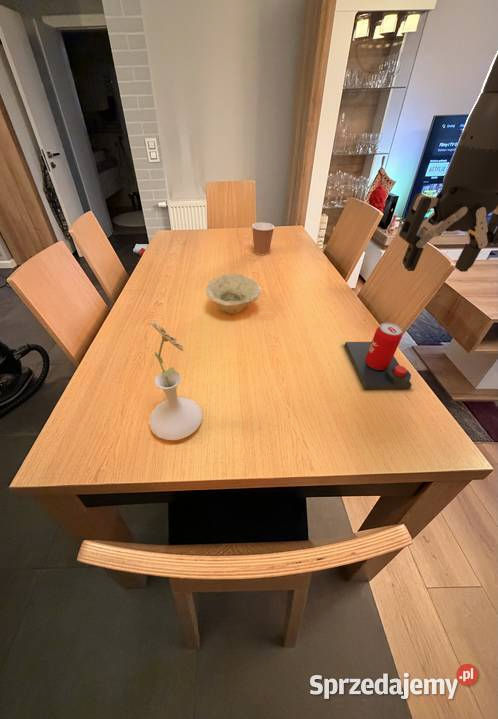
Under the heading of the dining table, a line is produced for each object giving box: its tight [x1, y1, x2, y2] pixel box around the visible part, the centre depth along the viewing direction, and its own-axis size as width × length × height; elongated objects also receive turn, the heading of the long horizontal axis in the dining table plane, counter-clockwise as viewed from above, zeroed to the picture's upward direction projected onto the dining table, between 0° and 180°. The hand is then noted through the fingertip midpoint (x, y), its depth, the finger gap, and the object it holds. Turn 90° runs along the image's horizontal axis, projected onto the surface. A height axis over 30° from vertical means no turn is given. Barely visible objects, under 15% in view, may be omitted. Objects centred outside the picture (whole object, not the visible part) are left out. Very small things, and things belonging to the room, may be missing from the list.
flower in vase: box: [148, 319, 203, 441], centre depth 60 cm, size 13×11×25 cm
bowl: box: [205, 273, 261, 314], centre depth 100 cm, size 14×18×15 cm
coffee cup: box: [251, 222, 275, 256], centre depth 140 cm, size 10×10×12 cm
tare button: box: [393, 365, 408, 378], centre depth 77 cm, size 3×3×2 cm
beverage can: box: [365, 322, 403, 370], centre depth 78 cm, size 6×6×12 cm
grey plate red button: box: [343, 341, 413, 391], centre depth 83 cm, size 18×12×4 cm, turn 3°
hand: (434, 269), depth 47 cm, fingers open, 8 cm apart
